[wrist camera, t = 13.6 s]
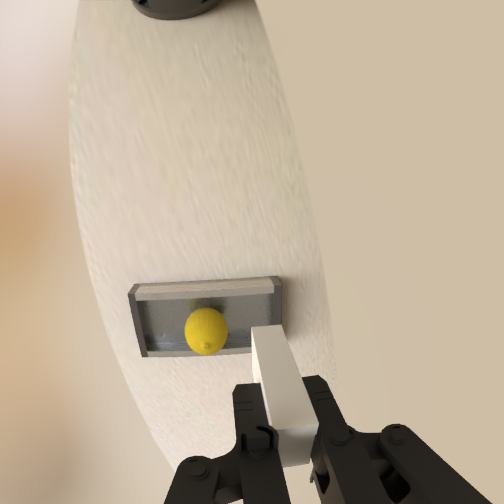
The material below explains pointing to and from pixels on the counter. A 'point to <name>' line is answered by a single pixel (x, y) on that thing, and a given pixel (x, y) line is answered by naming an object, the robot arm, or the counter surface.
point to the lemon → (206, 331)
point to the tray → (203, 296)
